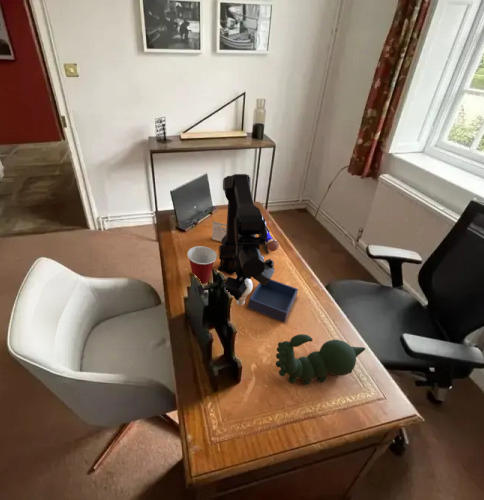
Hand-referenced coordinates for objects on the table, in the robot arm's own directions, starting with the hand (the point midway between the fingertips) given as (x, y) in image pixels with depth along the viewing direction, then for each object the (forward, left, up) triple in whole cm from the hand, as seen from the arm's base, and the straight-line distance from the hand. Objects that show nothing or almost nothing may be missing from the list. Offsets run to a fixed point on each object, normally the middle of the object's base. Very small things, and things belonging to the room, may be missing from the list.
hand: (241, 293), depth 98 cm
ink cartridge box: (-25, +39, -12) cm, 48 cm away
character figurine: (-7, +45, -12) cm, 47 cm away
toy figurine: (+27, -7, -12) cm, 31 cm away
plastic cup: (-21, +12, -12) cm, 27 cm away
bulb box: (+7, +13, -12) cm, 19 cm away
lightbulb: (0, 0, -5) cm, 5 cm away
